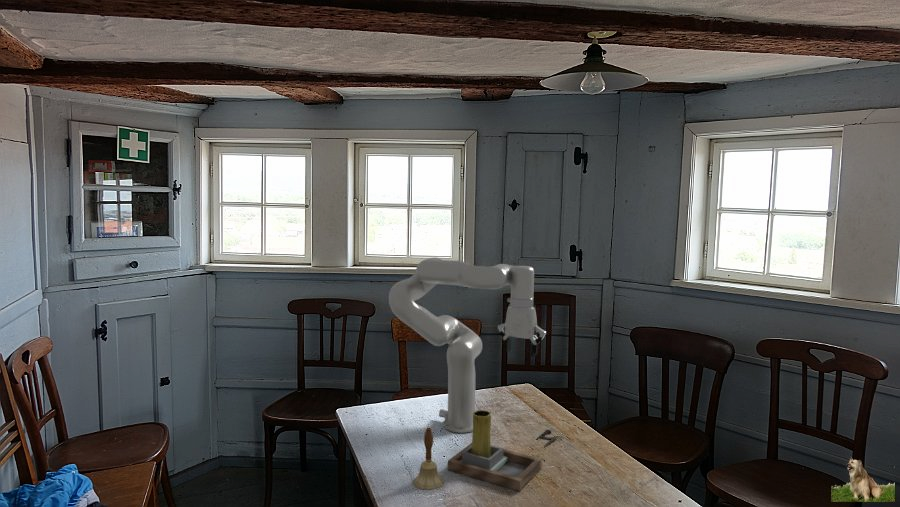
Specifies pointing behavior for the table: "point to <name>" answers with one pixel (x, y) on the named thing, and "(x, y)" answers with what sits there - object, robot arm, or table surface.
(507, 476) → the open wooden box
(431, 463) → the hand bell
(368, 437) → the table surface
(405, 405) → the table surface
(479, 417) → the vase
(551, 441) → the hacksaw
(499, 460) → the square serving tray
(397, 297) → the robot arm
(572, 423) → the table surface
